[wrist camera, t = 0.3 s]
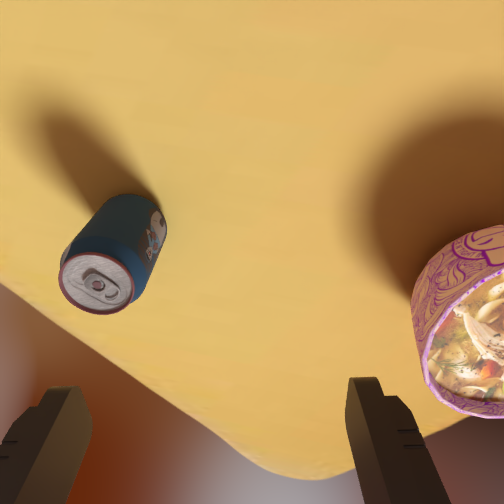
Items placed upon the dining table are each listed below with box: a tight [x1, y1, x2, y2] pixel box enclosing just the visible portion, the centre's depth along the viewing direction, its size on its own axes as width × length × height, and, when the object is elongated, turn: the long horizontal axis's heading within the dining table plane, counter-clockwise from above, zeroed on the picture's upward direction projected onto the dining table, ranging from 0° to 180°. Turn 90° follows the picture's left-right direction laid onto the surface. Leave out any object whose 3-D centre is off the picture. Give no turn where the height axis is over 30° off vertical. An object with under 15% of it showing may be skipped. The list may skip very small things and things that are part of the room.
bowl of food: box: [410, 225, 504, 418], centre depth 38 cm, size 20×20×12 cm
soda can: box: [58, 194, 167, 315], centre depth 34 cm, size 7×7×12 cm
